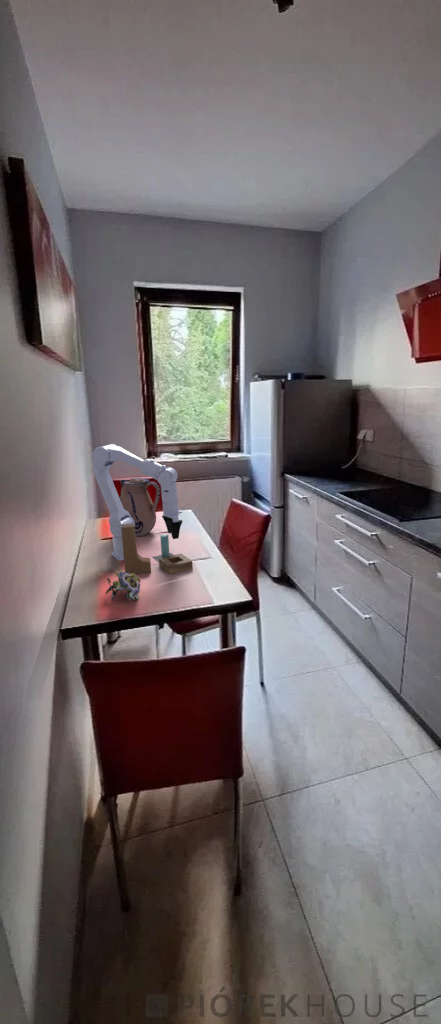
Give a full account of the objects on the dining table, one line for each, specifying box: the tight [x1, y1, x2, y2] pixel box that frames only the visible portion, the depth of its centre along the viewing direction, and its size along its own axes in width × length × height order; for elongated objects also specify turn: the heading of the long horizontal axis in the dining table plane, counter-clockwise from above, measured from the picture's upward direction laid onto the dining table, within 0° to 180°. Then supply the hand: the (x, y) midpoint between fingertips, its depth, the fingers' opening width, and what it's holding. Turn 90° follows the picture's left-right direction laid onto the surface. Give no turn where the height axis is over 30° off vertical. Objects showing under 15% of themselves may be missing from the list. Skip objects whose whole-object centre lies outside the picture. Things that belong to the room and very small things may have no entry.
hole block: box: [158, 553, 194, 575], centre depth 155 cm, size 9×9×4 cm
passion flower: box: [105, 569, 141, 602], centre depth 133 cm, size 11×11×12 cm
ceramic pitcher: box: [119, 477, 161, 537], centre depth 192 cm, size 18×21×25 cm
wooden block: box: [121, 524, 152, 575], centre depth 150 cm, size 9×4×18 cm, turn 101°
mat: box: [152, 552, 174, 563], centre depth 165 cm, size 8×8×1 cm
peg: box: [160, 534, 170, 558], centre depth 163 cm, size 3×3×9 cm
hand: (173, 535), depth 161 cm, fingers open, 7 cm apart
